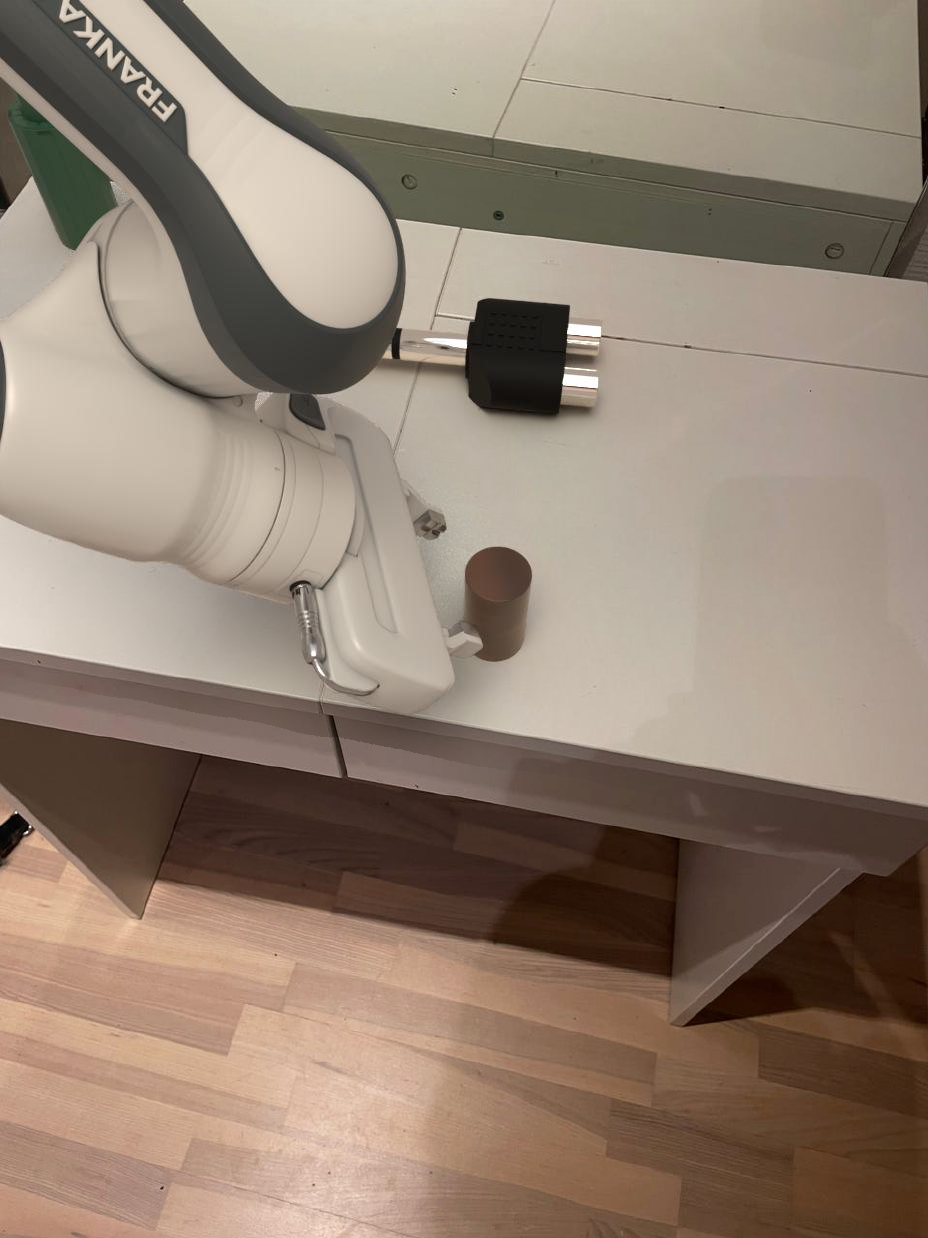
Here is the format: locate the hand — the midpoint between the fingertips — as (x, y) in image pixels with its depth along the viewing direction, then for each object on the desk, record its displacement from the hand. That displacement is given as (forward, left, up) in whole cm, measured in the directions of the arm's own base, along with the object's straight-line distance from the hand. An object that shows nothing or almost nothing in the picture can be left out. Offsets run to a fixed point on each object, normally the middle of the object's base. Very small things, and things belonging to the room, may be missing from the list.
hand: (455, 582), depth 57 cm
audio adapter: (+5, +27, -8) cm, 29 cm away
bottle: (-27, +54, -7) cm, 60 cm away
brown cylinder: (+3, 0, -7) cm, 8 cm away
